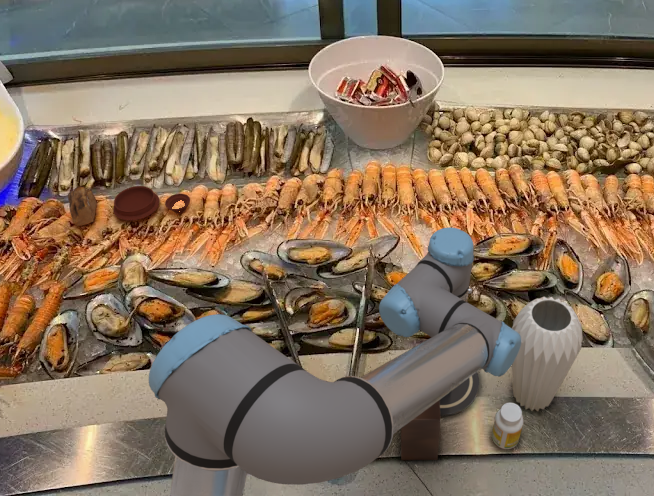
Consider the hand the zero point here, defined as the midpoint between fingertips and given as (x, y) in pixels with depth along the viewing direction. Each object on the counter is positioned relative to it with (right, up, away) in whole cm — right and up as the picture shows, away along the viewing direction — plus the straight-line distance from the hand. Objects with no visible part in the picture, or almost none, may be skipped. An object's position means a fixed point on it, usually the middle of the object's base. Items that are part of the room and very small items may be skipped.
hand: (440, 368), depth 134 cm
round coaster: (0, -4, +5) cm, 7 cm away
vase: (+19, -6, +4) cm, 20 cm away
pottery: (-75, +32, +43) cm, 92 cm away
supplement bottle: (+13, -13, -3) cm, 18 cm away
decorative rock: (-91, +30, +41) cm, 105 cm away
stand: (-4, -13, -5) cm, 15 cm away
